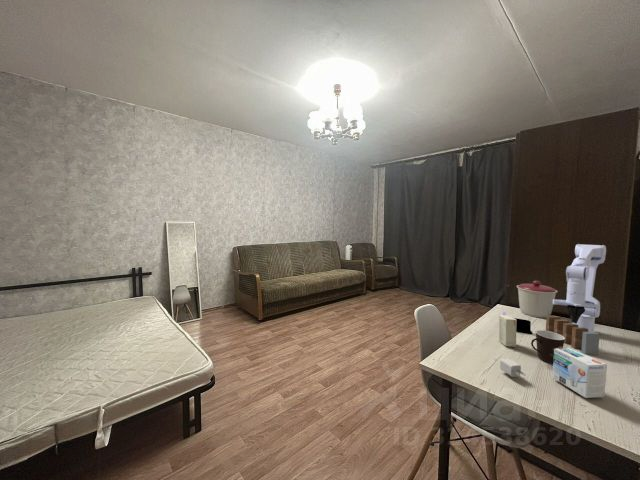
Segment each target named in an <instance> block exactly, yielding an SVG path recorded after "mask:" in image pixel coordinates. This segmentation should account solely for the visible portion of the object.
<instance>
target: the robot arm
mask: <svg viewBox="0 0 640 480" xmlns="http://www.w3.org/2000/svg"><path fill="white" fill-rule="evenodd" d="M574 254H575V258H574V259H573V260H572V263H571V265H568V266H567V267H566V269H565V276H566V283H567V284H566V299H553V305H559V306H565V307H566V309H567V312H568V313H569V317H570V322H571V324H577V325H578V327H579V328H587V329H588V332H596V331H594V330H595V321H596V319H595V318H598V317H599V316H600V314H601V302H600V301H599V300H598V299H597V298H596V297H593V296H594V287H595V283H596V282H595V280H596V274H597V269H598V266H599V265H601V264H604V262H605V261H606V254H607V247H606V245H605V244H602V245H600V244H584V243H583V244H580V243H577V244H576V245H575V248H574Z"/></svg>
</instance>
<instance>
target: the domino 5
mask: <svg viewBox="0 0 640 480" xmlns="http://www.w3.org/2000/svg"><path fill="white" fill-rule="evenodd" d="M599 344H600V333H598V332H597V331H595V332H583V336H582V349H580V350H581V351H580V352H581V353H583V354H585V355H587V356H594V355H595V356H598V355H599V349H600V348H599Z"/></svg>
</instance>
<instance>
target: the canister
mask: <svg viewBox="0 0 640 480" xmlns="http://www.w3.org/2000/svg"><path fill="white" fill-rule="evenodd" d="M516 288H517V292H518V293H517V294H518V303H519V310H520V313H522V314H524V315H526V316H528V317H533V318H537V319H546V317H547V316H552V311H553V308H554V304H553V299H555V298H556V294H557V293H558V289H557V290H556V289H555V288H554V287H551V286H548V285H543V284H541V282H540V280H533V281H532V283H520V284H518V285H516ZM555 300H556V299H555Z"/></svg>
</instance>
